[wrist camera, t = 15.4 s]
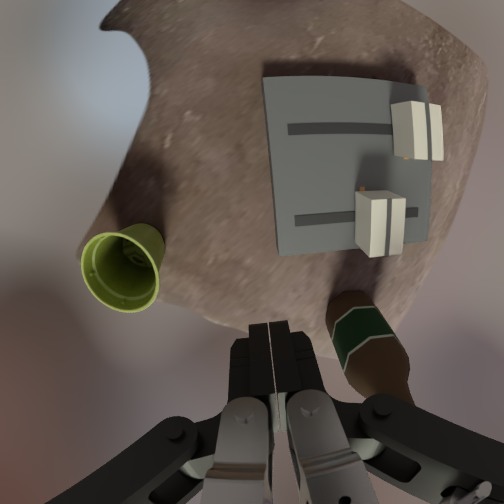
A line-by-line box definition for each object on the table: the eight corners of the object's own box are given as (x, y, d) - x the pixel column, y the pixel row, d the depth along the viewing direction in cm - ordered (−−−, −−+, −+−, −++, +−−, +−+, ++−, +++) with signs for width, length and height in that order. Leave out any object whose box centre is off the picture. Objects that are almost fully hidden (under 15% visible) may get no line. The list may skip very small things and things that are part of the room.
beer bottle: (340, 280, 37) (419, 425, 15) (382, 296, 39) (465, 422, 16) (313, 324, 40) (358, 473, 18) (355, 336, 41) (411, 466, 19)
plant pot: (164, 288, 37) (145, 326, 29) (105, 260, 36) (75, 289, 28) (188, 229, 34) (171, 257, 26) (123, 199, 33) (90, 217, 25)
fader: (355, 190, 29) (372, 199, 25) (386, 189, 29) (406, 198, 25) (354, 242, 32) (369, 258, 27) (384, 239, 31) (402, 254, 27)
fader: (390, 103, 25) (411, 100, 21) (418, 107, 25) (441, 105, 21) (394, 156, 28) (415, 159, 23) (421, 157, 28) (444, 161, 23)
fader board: (261, 83, 28) (262, 77, 25) (414, 89, 27) (426, 86, 25) (276, 247, 35) (279, 256, 33) (416, 233, 35) (427, 241, 32)
